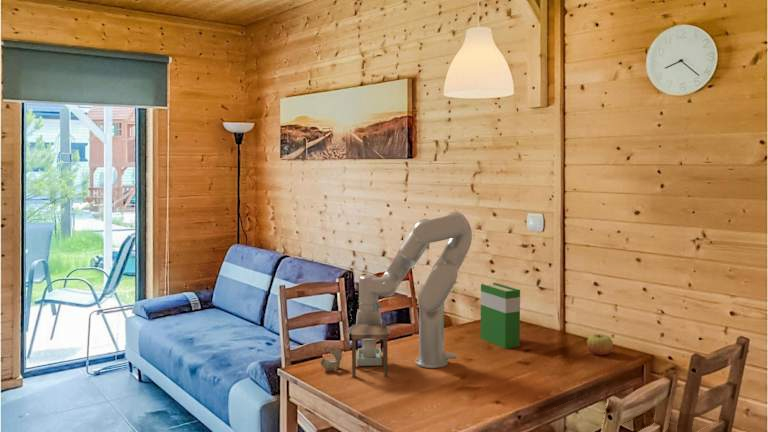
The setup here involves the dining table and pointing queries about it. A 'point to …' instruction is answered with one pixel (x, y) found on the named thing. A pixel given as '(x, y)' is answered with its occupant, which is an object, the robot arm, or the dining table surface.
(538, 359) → the dining table surface
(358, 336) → the small wooden stool
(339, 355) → the grey curved piece
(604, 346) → the apple
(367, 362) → the grey armchair
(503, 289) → the hardback book
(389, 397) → the dining table surface
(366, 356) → the pale upright block
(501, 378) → the dining table surface
